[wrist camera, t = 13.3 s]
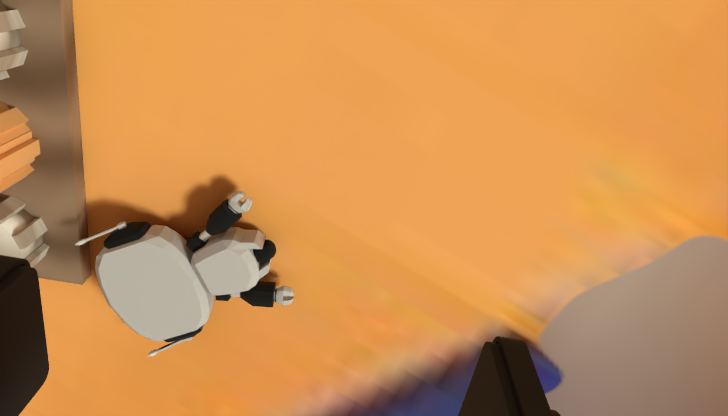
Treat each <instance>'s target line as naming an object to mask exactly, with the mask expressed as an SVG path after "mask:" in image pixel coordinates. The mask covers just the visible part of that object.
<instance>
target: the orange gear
mask: <svg viewBox="0 0 728 416" xmlns="http://www.w3.org/2000/svg"><path fill="white" fill-rule="evenodd" d="M27 121H28V119H27V118H26V117H25V116H24V115H23V114H22V112H21V111H20V110H19V109H18V108H17V107H15V108H13V109H10V108H9V107H8V106H7V105H6V104H5V105H4V104H3V103H0V193H1V192H2V191H4V190H5V189H7V188H9V187H10V186H12V185H14V184H15V183H17V182H18V181H20V180H22V179H23V178H25V177H26V176H27V175H28V174H30V173H31V172H32V171H33V170H34V169H33V168H32V167H31V166H30V164H31V163H32V162H33V161H34V160H35V158H34V157H36V156H38V155H39V154H40V145H39V139H34V138H32V131H30V130H31V129H30V128H29V127H28V126H27V125H26V124H25V123H26V122H27Z"/></svg>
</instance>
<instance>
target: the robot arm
mask: <svg viewBox="0 0 728 416" xmlns="http://www.w3.org/2000/svg"><path fill="white" fill-rule="evenodd" d="M48 371H49V362H48V354H47V345H46V337H45V329H44V321H43V313H42V305H41V297H40V289H39V281H38V273H37V270H36V269H35V268H33V267H31V266H30V263H29V262H28V260H26V259H23V258H16V257H10V256H4V255H0V416H18V415H19V414H20V413H21V412H22V410H23V409H24V408H25V407H26V405H27V404H28V403H29V402H30V400H31V399H32V398H33V396H34V395H35V394H36V393H37V391H38V390H39V389H40V388H41V386H42V385H43V383H44V382H45V380H46V378H47V375H48ZM458 416H560V414H559V413H558V412H557V411H554V410H550V407H549V405H548V402H547V399H546V396H545V394H544V391H543V388H542V386H541V383H540V380H539V377H538V375H537V372H536V369H535V367H534V364H533V361H532V358H531V356H530V353H529V350H528V348H527V345H526V343H525V342H524V341H523V340H517V339H511V338H505V337H499V336H498V337H496V338H495V339H494V340H493V342H486V343H485V344H484V346H483V349H482V352H481V354H480V357H479V360H478V363H477V365H476V368H475V371H474V374H473V377H472V379H471V382H470V385H469V388H468V390H467V393H466V396H465V399H464V401H463V404H462V407H461V410H460V412H459V415H458Z"/></svg>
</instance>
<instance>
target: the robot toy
mask: <svg viewBox="0 0 728 416" xmlns="http://www.w3.org/2000/svg"><path fill="white" fill-rule="evenodd" d="M244 196H245V193H244V192H242V191H237V192H235V193H233V194H231V195H230V198H229V200H225V201H224V202H223V203H222V204H221V205H219V206H218V207H217V208H216V209H215V210H214V211H213V212H212V213H211V214H210V216H209V219H208V222H207V226H206V229H205V230H204V231H203V232H202V233H201V232H198V231H197V232H196V233H195V234H194V235H193V236H192V237H190V238H189V239H188V240H187V241H186V240H185V239H184V238H183V237H182V236H181V235H180V234H179V233H177V232H176V231H174V230H172V229H170V228H169V227H167V226H162V225H153V226H152V225H150V224H149V223H148V222H132V223H129V224H127V223H126V221H123V222H121V223H118V224H117V226H115V227H112V228H110V229H108V230H105V231H103V232H100V233H98V234H95V235H93V236H91V237H88V238H86V239H85V238H84V239H82V240H79V241H78V242H77V243H76V244H75V245H82V244H84V243H86V242H87V241H90V240H92V239H94V238H97V237H99V236H102V235H104V234H106V233H109V232H111V231H113V232H112V233H111V234H110V235H109V236H108V237H107V239H106V240H105V241H104V246H105V247H104V248H103V249H102V250H101V251H100V253H99V254H98V255H97V256H96V262H95V271H96V276H97V279H98V282H99V285H100V287H101V290H102V292H103V294H104V296H105V298H106V301H107V303H108V305H109V306H110V307H111V308H112V309H113V310H114V312H115V313H116V314H117V315H118V316H119V317H120V318H121V319H122V321H123V322H124V323H125V324H127V325H128V326H129V327H130V328H131V329H132V330H133V331H135V332H136V333H137V334H139V335H141V336H143V337H145V338H147V339H150V340H154V341H158V342H159V341H162V340H164V341H166V342H172V343H170V344H168V345H166V346H164V347H161V348H159V349H157V350H156V349H155V350H153V351H151V352H150V353H149V354H148V355H147V356H154V355H156V354H157V353H159V352H161V351H163V350H165V349H167V348H170V347H172V346H174V345H176V344H178V343H181V342H183V341H186V342H187V341H189V340H191V339H193V337H194V336H195V335H196V334H198V333H199V332H201V330H202V327H203V325H204V324H205V323H206V322H207V321H208V318H209V315H210V313H211V310H212V307H213V302H214V296H216V300H223V301H228V300H229V299H230V298H231V296H232V297H241V298H242V299H243V300H245V301H246V302H248V303H249V304H251V305H252V306H262V307H273V304H274V301H275V302H277V303H279V304H281V305H289V304H291V303H292V302H293V294H294V291H293V289H292V288H290V287H287V286H282V287H279V288H277V289H275V282H262V281H258V280H259V279H260V278H262V277H263V276H265V275H266V274H267V273H268V272H269V268H270V264H271V260H272V258H273V257H274V255H275V253H276V247H275V244H274V243H273V242H272V241H270V240H265V238H266V236H265V235H264V234H263V233H262V232H260V231H259V230H245V229H242V228H239V227H232V226H233V225H234V224H235V223H236V222H237V221H238V220H239V219H240V218H241V217H242V212H245V211H248V210H249V209H250V207H251V206H252V201H251V198H250V197H249V196H248V198H247V199H246V200H245V201H244V202H241V201H240V199H241V198H242V197H244ZM173 341H175V342H173Z"/></svg>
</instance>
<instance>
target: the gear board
mask: <svg viewBox="0 0 728 416" xmlns="http://www.w3.org/2000/svg"><path fill="white" fill-rule="evenodd" d="M0 103H3V104H4V105H5V104H6V105H7V106H8V107H9V108H10V109H13V108H15V107H17V108H18V109H19V110H20V111H21V112H22V114H23V115H24V116H25V117H26V118H27V119H28V121H27V122H26V123H25V124H26V125H27V126H28V127H29V128H30V129H31V130H30V131H32V138H34V139H39V145H40V154H39V155H38V156H36V157H34V158H35V160H34V161H33V162H32V163H31V164H30V166H31V167H32V168H33V169H34V170H33V171H32V172H31V173H30V174H28V175H27V176H26V177H25V178H23V179H22V180H20V181H18V182H17V183H15V184H14V185H12V186H10V187H9V188H7V189H5V190H4V191H2V192H1V193H0V255H4V256H10V257H16V258H23V259H26V260H28V262H29V263H30V266H31V267H33V268H35V269H36V270H37V273H38V278H44V279H50V280H57V281H63V282H69V283H75V284H81V285H82V284H83V283H84V282H85V281H86V280H87V279H88V278H89V277H90V276H91V271H90V256H89V242H88V241H87V242H86V243H84V244H82V245H75V244H76V243H77V242H78V241H79V240H82V239H84V238H85V239H86V238H88V227H87V213H86V198H85V183H84V169H83V154H82V140H81V125H80V111H79V96H78V82H77V67H76V52H75V38H74V23H73V9H72V0H0Z"/></svg>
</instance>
